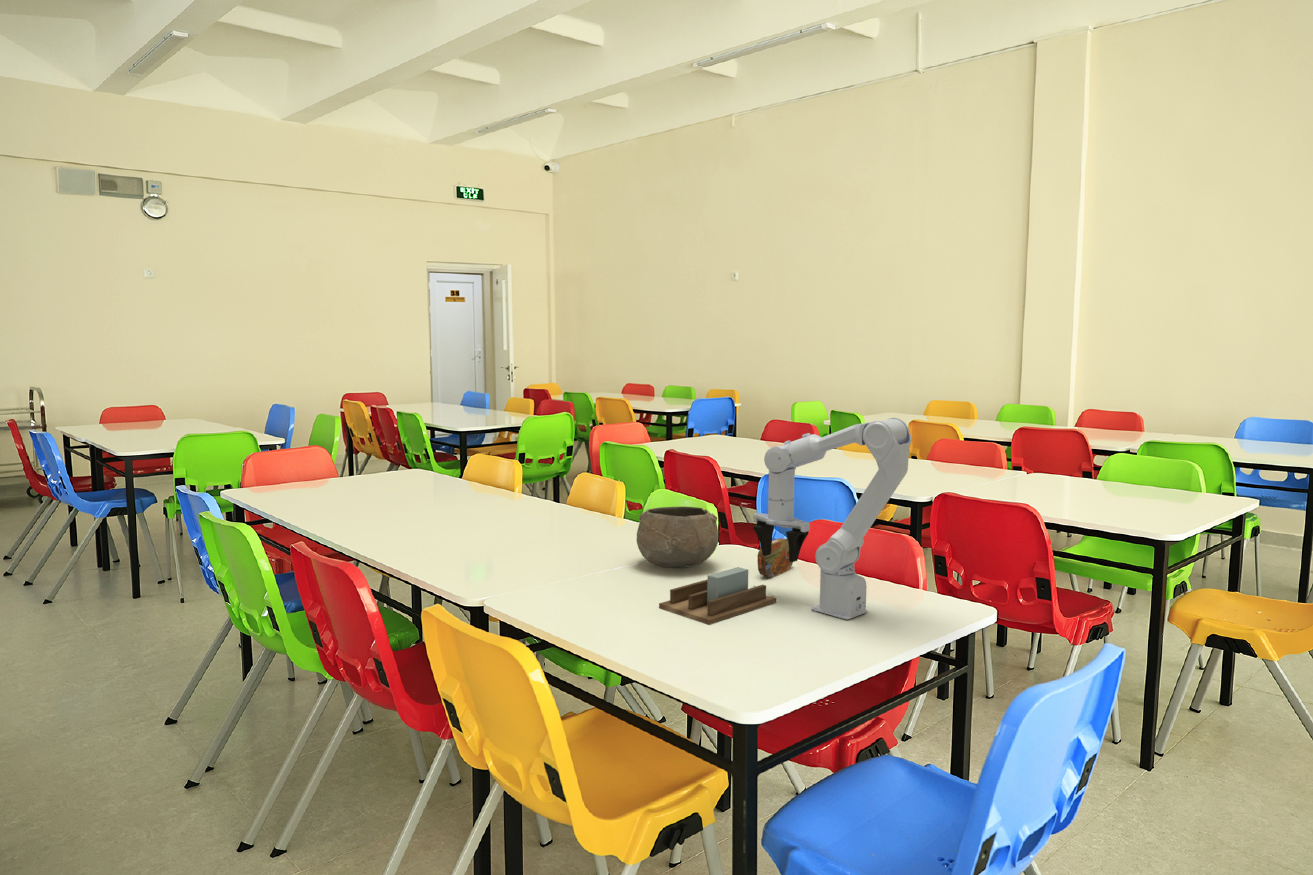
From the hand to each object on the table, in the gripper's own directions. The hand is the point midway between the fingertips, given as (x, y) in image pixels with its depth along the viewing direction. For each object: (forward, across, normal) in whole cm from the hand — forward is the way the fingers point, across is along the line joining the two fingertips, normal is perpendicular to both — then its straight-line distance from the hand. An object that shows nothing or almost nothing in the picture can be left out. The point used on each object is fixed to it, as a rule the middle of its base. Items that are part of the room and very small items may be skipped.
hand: (779, 558), depth 192 cm
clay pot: (+10, -35, +2) cm, 36 cm away
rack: (+9, -6, -14) cm, 18 cm away
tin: (+10, -14, +16) cm, 24 cm away
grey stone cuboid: (+8, -3, -14) cm, 17 cm away
